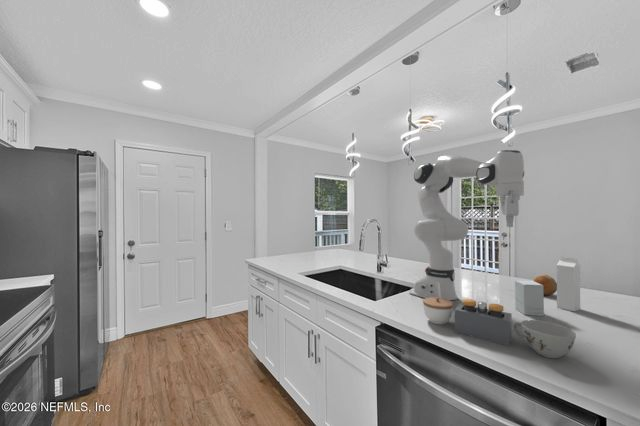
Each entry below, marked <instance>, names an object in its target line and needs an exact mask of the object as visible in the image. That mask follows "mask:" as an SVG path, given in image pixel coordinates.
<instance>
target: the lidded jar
mask: <svg viewBox="0 0 640 426" xmlns="http://www.w3.org/2000/svg"><path fill="white" fill-rule="evenodd" d="M422 302H423V311H424V315H425V317H426V318H427V320H429V322H430V323H431V324H432V323H433V324H435V325H439V326H440V325H441V326H442V325H446V324H447V323H448V322H449V321H450V319H451V318H452V316H453V312H454V311H453V309H454V308H453V307H454V304H453V302H452V300H446V299H443V298H439V297H436V298H434V297H432V298H423V300H422Z"/></svg>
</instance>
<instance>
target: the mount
mask: <svg viewBox="0 0 640 426" xmlns="http://www.w3.org/2000/svg"><path fill="white" fill-rule="evenodd" d="M512 315H513V313H510V312H505V311H502V318H500V317H496V316H491V315H490V309H489V308H487V313H481V312H478V306H475V312H471V311H466V310H465V308H464V304H463V303H459V304H458V305H457V306H456V308H454V333H457V334H462V335H465V336H469V337H472V338H477V339H481V340H485V341H488V342H493V343H496V344H499V345H503V346H508V347H510V344H511V341H512V339H513V333H512V332H513V331H512V330H513V329H512V327H513V326H512V325H513V323H512V322H513V320H512V318H513V316H512Z"/></svg>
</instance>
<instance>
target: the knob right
mask: <svg viewBox="0 0 640 426" xmlns="http://www.w3.org/2000/svg"><path fill="white" fill-rule="evenodd" d="M488 309H490V315H491V316H496V317H500V318H502V312H504V306H503V305H502V304H498V303H488Z"/></svg>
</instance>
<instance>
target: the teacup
mask: <svg viewBox="0 0 640 426" xmlns="http://www.w3.org/2000/svg"><path fill="white" fill-rule="evenodd" d="M517 327H521V331H522V333H520V332H519V330H518V329H517ZM513 328H514V329H513V330H514V332H515V333H516V334H517V336H519V337H521V338H523V339H525V340H526V342H527V344H528V345H529V346H530V347H531V348H532V349H533V350H534V351H535V353H537V354H538V355H540V356H543V357H545V358H549V359H559V358H561V357H562V356H564V355H567V353H569V352H570V351H571V350H572V349H573V347H574V343H575V340H576V337H577V334H576V332H574V331H573V330H572V329H570V328H568V327H566V326H564V325H562V324H558V323H555V322H550V321H546V320H540V319H539V320H538V319H530V320H522V321H521V322H518V321H516V322H514V324H513Z"/></svg>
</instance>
